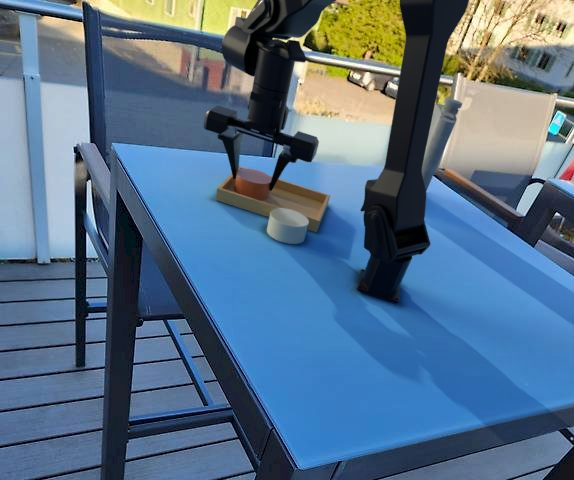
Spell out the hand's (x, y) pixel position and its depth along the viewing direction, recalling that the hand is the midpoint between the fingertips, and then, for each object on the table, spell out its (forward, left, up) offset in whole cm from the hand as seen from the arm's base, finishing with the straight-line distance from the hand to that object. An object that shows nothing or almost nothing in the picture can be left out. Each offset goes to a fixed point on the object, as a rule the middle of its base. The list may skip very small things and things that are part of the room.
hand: (253, 184), depth 87 cm
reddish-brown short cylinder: (0, 0, -2) cm, 2 cm away
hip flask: (+26, -31, -2) cm, 40 cm away
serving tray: (0, -5, -2) cm, 5 cm away
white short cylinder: (-11, -9, -2) cm, 14 cm away
